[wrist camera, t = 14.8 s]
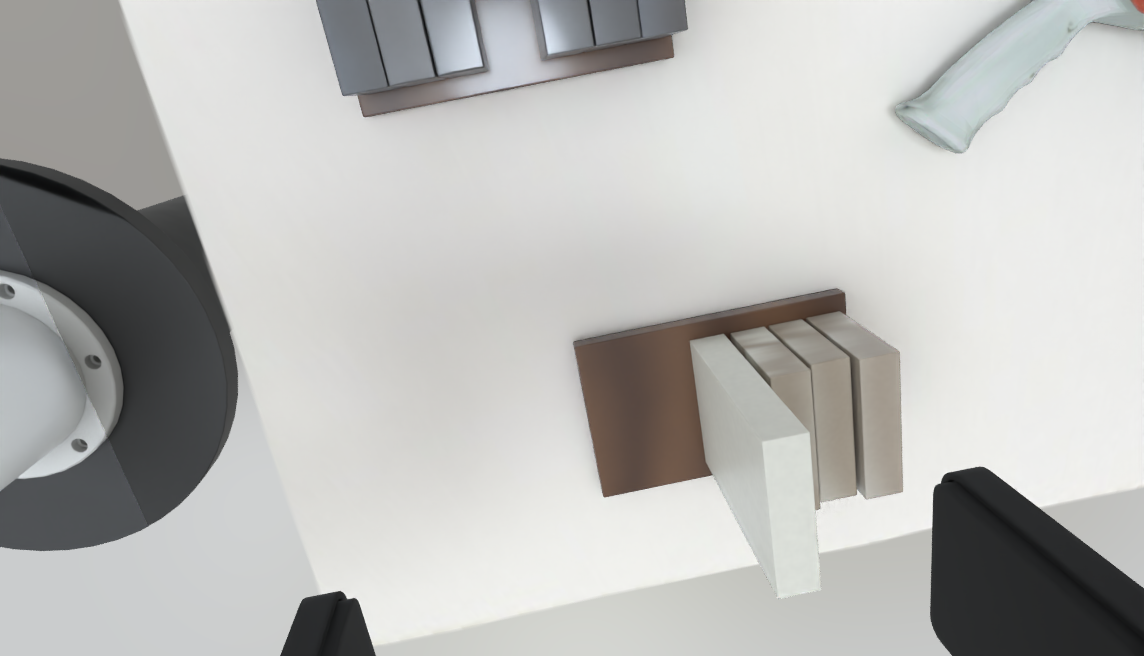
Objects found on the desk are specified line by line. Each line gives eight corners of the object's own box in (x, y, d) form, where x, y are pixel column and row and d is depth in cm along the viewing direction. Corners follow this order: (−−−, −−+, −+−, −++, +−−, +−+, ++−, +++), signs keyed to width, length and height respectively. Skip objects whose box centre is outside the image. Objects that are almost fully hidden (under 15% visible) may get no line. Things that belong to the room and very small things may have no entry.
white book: (705, 462, 42) (777, 599, 31) (689, 340, 39) (761, 441, 28) (737, 455, 42) (821, 590, 31) (723, 333, 39) (809, 432, 28)
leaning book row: (601, 489, 43) (619, 567, 36) (572, 341, 40) (586, 395, 33) (846, 438, 44) (911, 507, 36) (837, 287, 40) (908, 330, 33)
